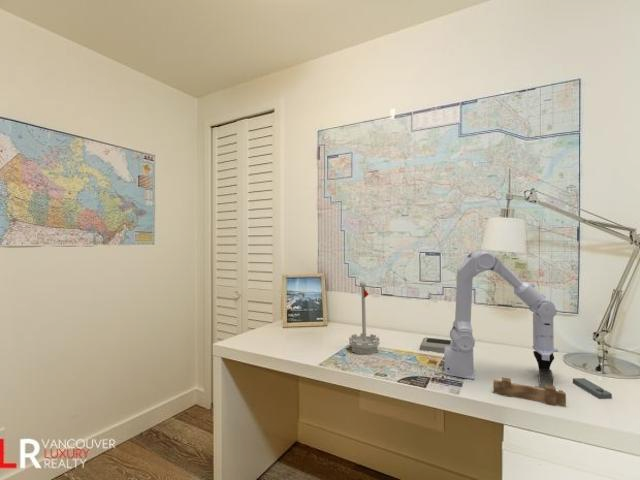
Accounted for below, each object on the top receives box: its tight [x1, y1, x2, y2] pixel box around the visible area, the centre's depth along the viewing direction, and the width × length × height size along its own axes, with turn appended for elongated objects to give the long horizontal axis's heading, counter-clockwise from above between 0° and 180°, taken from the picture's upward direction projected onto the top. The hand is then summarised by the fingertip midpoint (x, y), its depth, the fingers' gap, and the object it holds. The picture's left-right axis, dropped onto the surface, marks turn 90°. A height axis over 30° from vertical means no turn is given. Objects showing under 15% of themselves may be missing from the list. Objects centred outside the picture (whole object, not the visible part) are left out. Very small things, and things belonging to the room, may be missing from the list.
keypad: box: [419, 336, 453, 354], centre depth 139 cm, size 10×4×15 cm
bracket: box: [572, 377, 613, 400], centre depth 100 cm, size 4×10×2 cm, turn 178°
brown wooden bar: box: [492, 377, 567, 407], centre depth 97 cm, size 18×5×4 cm, turn 60°
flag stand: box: [348, 280, 380, 355], centre depth 140 cm, size 13×13×30 cm
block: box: [538, 367, 554, 389], centre depth 103 cm, size 3×8×4 cm, turn 148°
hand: (543, 374), depth 109 cm, fingers closed
